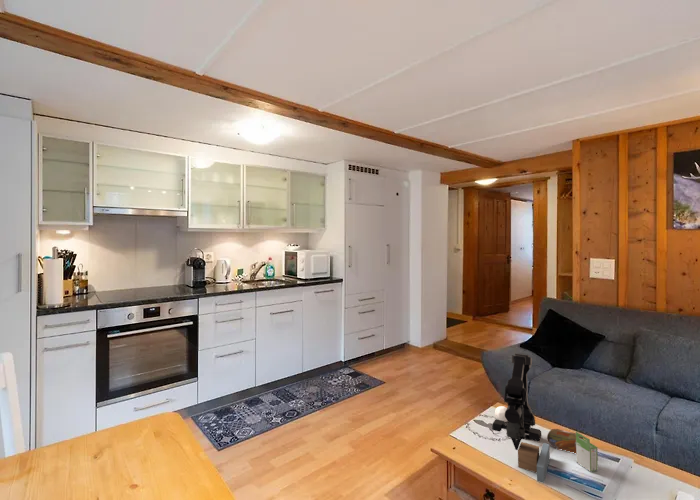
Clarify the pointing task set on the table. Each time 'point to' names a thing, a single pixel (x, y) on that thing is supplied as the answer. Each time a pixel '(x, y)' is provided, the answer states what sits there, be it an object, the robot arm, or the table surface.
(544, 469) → the slate board
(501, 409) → the geometric ball
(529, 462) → the walnut block
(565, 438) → the tin
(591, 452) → the ink box
